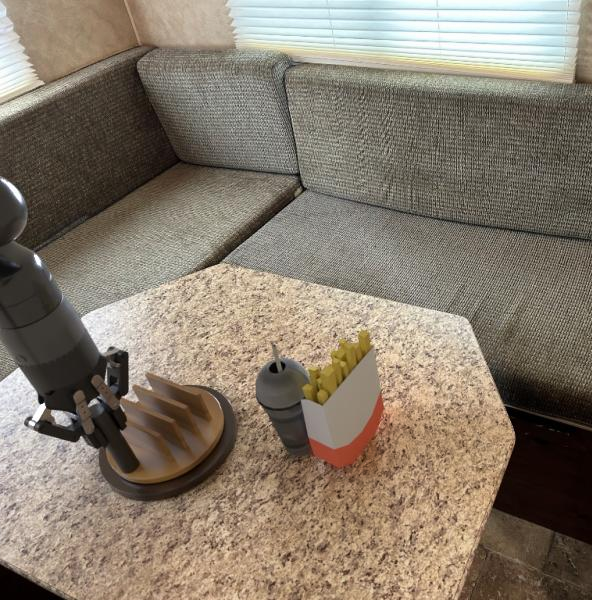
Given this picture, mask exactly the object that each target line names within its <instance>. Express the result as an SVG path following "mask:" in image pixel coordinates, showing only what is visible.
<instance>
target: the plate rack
mask: <svg viewBox="0 0 592 600" xmlns="http://www.w3.org/2000/svg"><path fill="white" fill-rule="evenodd" d="M144 376H145V378H146V380H147V382H148V384H149V385H150V387H151V389H152V390H150V389H148V388H145V387H142V386H140V385H138V384H135V383H134V384H133V385H132V386H131V390H132V391H133V392H134V395H135V396H136V397H137V399H138V401H136V402H137V403H136V402H134V401H132V400H130V399H127V398H125V397H123V396H122V397H121V399H120V401H119V402H120V407H121V408H122V410H123V412H124V411H125V412H124V413H125V415H126V417H127V422H126V425H127V427H126V428H125V429H124V430H123V431H121V430H119V428H118V426H117V425H116V423H115V422H114V420H113V418H112V417H111V415H110V414H109V412H108V410H107V409H106V407H105V406H104V405H103V404H101V403H98V402H97V403H93V404H91V405H89V406H88V407H89V410H90V412H91V414H92V416H91V420H92V422H93V424H94V426H95V427H97V428H98V429H99V431H100V432H101V434H102V435H103V437H104V438H105V440H106V441H107V443H108V446H107V447H106V454H107V459H108V461H109V464H110V465H111V467H112V468H113V469H114V471H115V472H116V473H117V474H118V475H119V476H121V477H122V478H124V479H126V480H129V481H131V482H136V483H144V484H146V483H158V482H163V481H167V480H170V479H173V478H175V477H178V476H180V475H182V474H184V473H186V472H187V471H189V470H191V469H192V468H194V467H195V466H197V465H198V464H199V463H200V462H202V461H203V460H204V459H205V458H206V457H207V456H208V455H209V454H210V453H211V451H212V450H213V449H214V447H215V446H216V444H217V442H218V441H219V439H220V436H221V434H222V431H223V426H224V415H223V411H222V409H221V406H220V404H219V402H218V401H217V399H216V398H215V397H214V396H213V395H211V394H210V393H209V392H207V391H205V390H202V389H199V388H195V387H184V386H182V385H183V384H180V383H177V382H174V381H172V380H170V379H166V378H164V377H161V376H160V375H157V374H154V373H152V372H149V371H147V372H146V373H145V374H144Z"/></svg>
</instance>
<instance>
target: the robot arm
mask: <svg viewBox="0 0 592 600" xmlns="http://www.w3.org/2000/svg"><path fill="white" fill-rule="evenodd" d="M28 209H29V208H28V205H27V202H26V199H25V198H24V196H23V193H21V191H20V190H19V189H18V188H17V186H15V185H14V184H13V183H12V182H11V181H10V180H8V179H7V178H6V177H4V176H2V175H0V344H1V345H2V346H3V347H4V349H5V350H6V352H7V353H8V354H9V355H10V357H11V359H12V360H13V361H14V363H15V364H16V365H17V367H18V368H19V370H20V371H21V372H22V373H23V375H24V377H25V378H26V380H27V381H28V382H29V384H30V385H31V387H33V389H34V390H35V392H36V393H37V403H38V404H39V407H38V408H37V410H36V411H35V413H34V415H33V416H32V415H30V416H27V417H26V418H25V420H24V421H23V425H24V426H25V428H28V429H30V430H32V431H34V432H36V433H38V434H41V435H44V436H47V437H51V438H54V439H58V440H63V441H66V442H69V443H73V444H74V443H77V442H79V440H80V439H81V438H82V439H83V440H84V442H85V444H86V445H87V446H89V447H92V448H93V449H95V450H100V448H101V449H105V448H106V447H107V446H108V443H107V441H106V440H105V438H104V437H103V435H102V434H101V432H100V431H99V429H98V428H97V427H95V426H94V424H93V422H92V420H91V416H92V414H91V412H90V410H89V407H90V403H91V402H92V401H93V400H95V401H96V402H97V403H101V404H103V405H104V406H105V407H106V409H107V410H108V412H109V414H110V415H111V417H112V418H113V420H114V422H115V423H116V425H117V426H118V428H119V430H121V431H123V430H124V429H125V428H126V427H127V425H126V422H127V417H126V415H125V413H124V409H123V408H122V406H121V404H120V402H119V401H120V399H121V397H122V398H123V397H125V396H127V395H128V394H129V391H130V367H129V366H130V362H129V361H130V358H129V357H130V354H129V352H128V351H126V350H124V349H121V348H118V347H116V346H114V345H110V346H109V347H107V349H106V351H105V352H100V351H99V348H98V346H97V344H96V343H95V341H94V339H93V338H92V336H91V334H90V332H89V330H88V329H87V327H86V326H85V324H84V322H83V320H82V318H81V315H80V313H79V312H78V311H77V310H76V308H75V307H74V306H73V304H72V303H71V302H70V300H69V299H68V298H67V296H65V293H64V292H63V291H62V290H61V288H60V286H59V285H58V283H57V281H56V280H55V278H54V276H53V274H52V273H51V271H50V269H49V267H48V265H46V263H45V261H44V260H43V258H42V257H41V256H40V255H39V254H38V253H36V252H35V251H34V250H33V249H31V248H29V247H27V246H24V245H22V244H20V243H18V242H16V241H15V240H16V239H17V238H19V237H20V235H21V234H22V233H23V231H24V230H25V228H26V226H27V223H28V217H29V211H28ZM52 411H57V412H62V413H63V414H64V415H65V416H67V418H68V420H69V423H70V424H68V425H67V426H66V425H64V424H63V425H62V424H59V423H57V421H56V418H55V416H53V415H52Z"/></svg>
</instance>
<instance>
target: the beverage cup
mask: <svg viewBox="0 0 592 600" xmlns="http://www.w3.org/2000/svg"><path fill="white" fill-rule="evenodd" d="M271 348H272V352H273V355H274V359H272V360H270V361H268V362H267V363H265V364H264V365H263V366H262V367H261V369H260V370H259V371H258V373H257V376H256V379H255V383H254V384H255V385H254V386H255V399H256V401H257V403H258V404H259V405H260V406H261V408H262V409H263V411H264V412H265V413H266V414H267V416H268V419H269V420H270V423H271V424H272V426H273V428H274V430H275V432H276V433H277V436H278V438H279V439H280V441H281V444H282V445H283V447H284V448H285V450H286V452H287V453H288V455H290V456H293V457H305V456H307V455H309V454H311V453H313V451H312V447H311V444H310V441H309V438H308V433H307V428H306V423H305V418H304V414H303V409H302V404H301V399H306V397H305V395H304V392H303V389H302V388H303V387H304V386H305V385H306V384H309V385H310V386H311V382H310V376H309V372H308V371H307V370H306V368H305V367H304V365H302V364H301V363H300V362H298V361H296V360H295V359H292V358H288V357H280V356H279V351H278V348H277V344H271Z"/></svg>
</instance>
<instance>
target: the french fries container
mask: <svg viewBox="0 0 592 600" xmlns="http://www.w3.org/2000/svg"><path fill="white" fill-rule="evenodd" d="M370 335H371V334H370V331H368V330H364V329H361V330H360V331H359V332H358V334H357V338H358V342H356V341H353V342H350V341H348V340H347V339H346V338H344V337H342V338H341V339H339V340H338V345H339V347H340V348H338V349H332V351H331V352H330V353H329V354H330V358H331V363H329V364H328V365H324V366H323V368H321V370H320V368H319V367H318V366H315V365H311V366H310V367H308V374H309V376H310V382H311V386H310V385H309V384H306V385H305V386H304V387H303V388H302V389H303V392H304V395H305V397H306V399H301V404H302V409H303V414H304V418H305V423H306V428H307V433H308V438H309V441H310V444H311V447H312V453H313V456H315V457H316V458H319V459H320V460H323V461H324V462H325V463H326V462H327V463H329V464H330V465H332V466H334V467H336V468H343V467H346V466H349V465H352V464H354V463H355V462H356V461H357V460H358V458H359V457H360V455H361V454H362V453H363V451H364V450H365V449H366V447H367V446H368V445H369V443H370V442H371V440H372V439H373V438H374V437H375V435H376V434H377V431H378V428H379V425H380V421H381V419H382V416H383V413H384V410H385V406H384V401H383V395H382V388H381V382H380V376H379V368H378V363H377V358H376V357H377V356H376V353H375V346H374V345H373V344H371V336H370Z"/></svg>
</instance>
